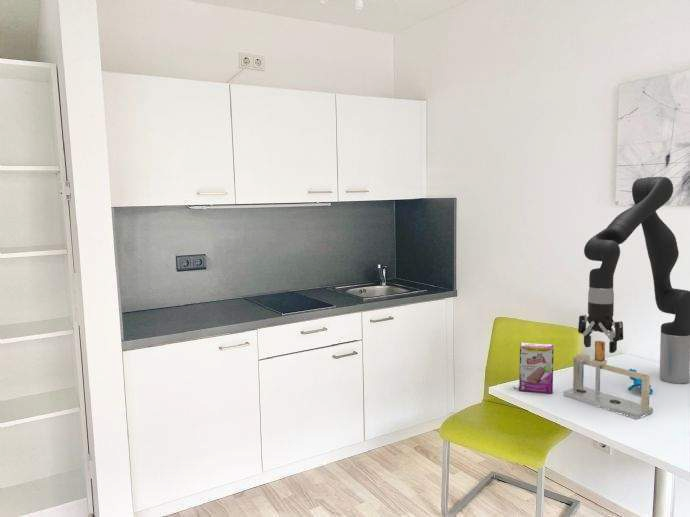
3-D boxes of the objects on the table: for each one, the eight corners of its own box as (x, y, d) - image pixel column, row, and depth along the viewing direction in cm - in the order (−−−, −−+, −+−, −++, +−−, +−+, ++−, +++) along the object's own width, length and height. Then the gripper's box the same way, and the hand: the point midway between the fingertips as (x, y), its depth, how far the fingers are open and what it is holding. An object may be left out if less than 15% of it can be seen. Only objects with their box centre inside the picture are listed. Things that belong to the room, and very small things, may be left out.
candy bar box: (519, 391, 183) (519, 345, 181) (519, 386, 188) (519, 342, 186) (553, 394, 179) (553, 347, 178) (552, 389, 184) (553, 343, 182)
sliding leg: (597, 392, 175) (598, 340, 173) (606, 394, 172) (607, 342, 170) (591, 394, 173) (592, 341, 171) (600, 396, 171) (601, 343, 169)
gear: (648, 394, 172) (626, 368, 177) (633, 404, 175) (613, 378, 180) (659, 390, 179) (638, 365, 185) (645, 399, 183) (625, 375, 188)
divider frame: (579, 389, 183) (580, 351, 181) (652, 412, 162) (654, 369, 160) (563, 395, 178) (564, 355, 177) (636, 419, 157) (637, 374, 156)
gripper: (628, 302, 165) (627, 352, 167) (587, 296, 178) (586, 343, 179) (615, 305, 162) (613, 356, 163) (573, 299, 174) (573, 346, 175)
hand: (599, 349), depth 171 cm, fingers open, 8 cm apart
